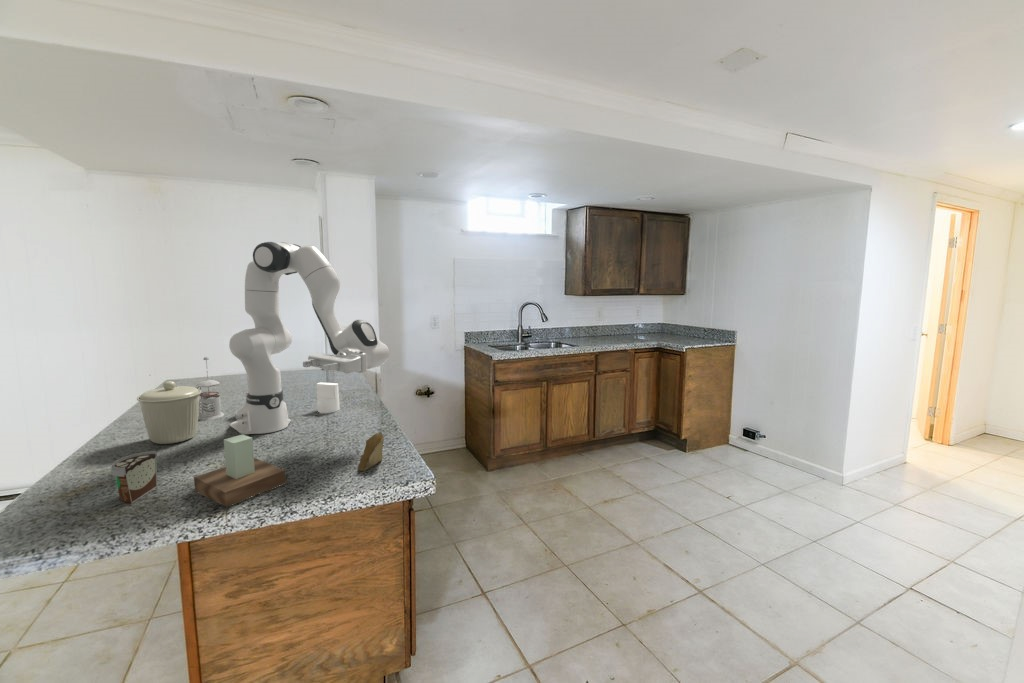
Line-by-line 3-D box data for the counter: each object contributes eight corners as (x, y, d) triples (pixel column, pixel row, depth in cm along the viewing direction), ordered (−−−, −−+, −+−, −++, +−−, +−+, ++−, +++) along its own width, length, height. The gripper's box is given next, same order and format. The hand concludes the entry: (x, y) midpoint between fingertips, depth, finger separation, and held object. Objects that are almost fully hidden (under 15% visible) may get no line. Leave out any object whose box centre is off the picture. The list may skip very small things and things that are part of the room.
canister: (169, 430, 169) (164, 375, 166) (216, 431, 168) (212, 376, 165) (126, 447, 151) (120, 386, 148) (179, 449, 150) (174, 388, 148)
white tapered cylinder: (313, 412, 194) (311, 385, 192) (324, 406, 203) (323, 380, 201) (332, 414, 192) (331, 386, 191) (343, 408, 201) (342, 382, 199)
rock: (364, 468, 133) (393, 455, 140) (352, 443, 135) (381, 430, 142) (353, 479, 140) (381, 466, 147) (342, 454, 142) (370, 442, 149)
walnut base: (195, 491, 122) (193, 477, 121) (254, 470, 135) (253, 457, 135) (226, 507, 114) (225, 492, 113) (285, 483, 127) (285, 470, 127)
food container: (137, 484, 125) (133, 450, 123) (160, 484, 125) (157, 450, 124) (100, 507, 113) (96, 469, 111) (127, 506, 113) (123, 468, 112)
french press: (214, 420, 181) (209, 359, 178) (185, 419, 182) (180, 358, 178) (229, 412, 191) (225, 355, 188) (202, 412, 191) (198, 354, 188)
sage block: (226, 474, 123) (223, 439, 122) (244, 468, 127) (242, 434, 126) (236, 479, 121) (233, 443, 119) (254, 472, 125) (252, 437, 123)
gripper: (329, 348, 159) (293, 353, 148) (369, 353, 149) (333, 359, 137) (329, 365, 160) (293, 372, 148) (369, 372, 150) (334, 380, 138)
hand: (313, 366), depth 143 cm, fingers open, 8 cm apart
